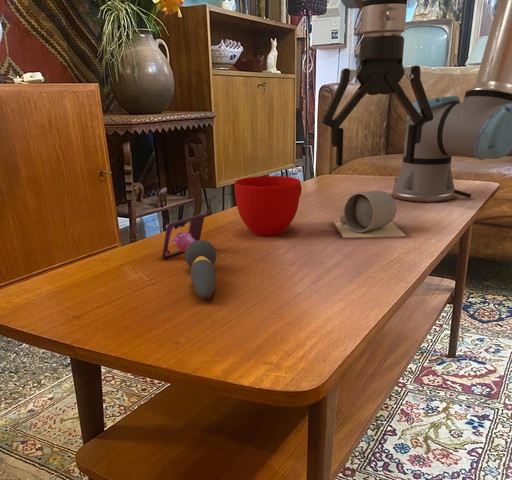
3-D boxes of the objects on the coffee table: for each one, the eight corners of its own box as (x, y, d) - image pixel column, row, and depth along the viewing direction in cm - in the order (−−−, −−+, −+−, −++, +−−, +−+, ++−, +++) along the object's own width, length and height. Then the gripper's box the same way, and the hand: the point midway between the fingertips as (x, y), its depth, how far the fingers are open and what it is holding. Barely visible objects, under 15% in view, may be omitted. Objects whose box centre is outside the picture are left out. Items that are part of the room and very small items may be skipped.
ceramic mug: (397, 228, 104) (400, 189, 101) (372, 236, 99) (374, 195, 96) (356, 220, 111) (358, 184, 108) (330, 227, 107) (331, 189, 103)
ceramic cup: (323, 226, 108) (325, 176, 104) (271, 244, 97) (271, 189, 93) (276, 217, 116) (276, 171, 112) (223, 233, 105) (220, 182, 101)
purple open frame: (200, 211, 93) (164, 221, 87) (221, 224, 91) (186, 236, 85) (193, 244, 97) (158, 256, 91) (214, 257, 95) (179, 270, 89)
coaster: (390, 222, 111) (390, 220, 110) (405, 236, 100) (405, 235, 100) (334, 223, 110) (334, 222, 110) (343, 238, 100) (343, 236, 100)
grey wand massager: (233, 302, 72) (231, 267, 69) (197, 306, 71) (194, 271, 68) (213, 260, 89) (211, 232, 87) (184, 263, 88) (181, 234, 86)
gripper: (313, 37, 87) (311, 168, 96) (462, 31, 87) (445, 163, 96) (308, 40, 93) (307, 163, 103) (446, 34, 93) (432, 157, 103)
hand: (374, 163), depth 100 cm, fingers open, 13 cm apart
